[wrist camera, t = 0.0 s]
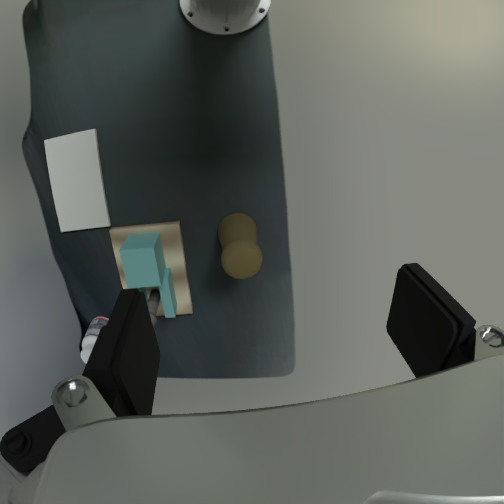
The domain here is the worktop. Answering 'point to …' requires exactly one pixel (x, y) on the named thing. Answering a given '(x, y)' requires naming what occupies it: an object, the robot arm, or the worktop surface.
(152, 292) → the stand
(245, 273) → the cork
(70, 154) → the mat
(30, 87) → the worktop surface
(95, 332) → the pill bottle
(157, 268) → the link
